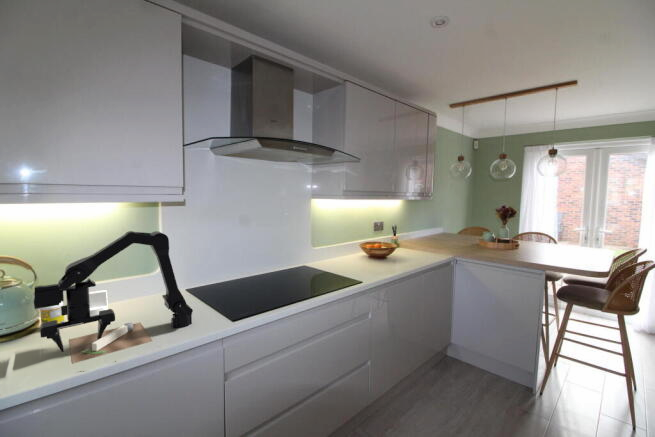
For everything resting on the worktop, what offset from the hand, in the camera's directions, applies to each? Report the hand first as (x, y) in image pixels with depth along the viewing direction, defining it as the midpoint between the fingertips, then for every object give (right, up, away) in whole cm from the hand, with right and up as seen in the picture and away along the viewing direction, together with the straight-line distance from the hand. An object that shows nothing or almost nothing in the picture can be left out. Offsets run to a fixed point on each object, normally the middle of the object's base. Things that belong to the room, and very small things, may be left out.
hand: (81, 346), depth 101 cm
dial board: (+5, -2, +7) cm, 9 cm away
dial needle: (+6, 0, +7) cm, 9 cm away
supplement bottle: (-26, -1, +18) cm, 32 cm away
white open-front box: (-15, 0, +26) cm, 30 cm away
